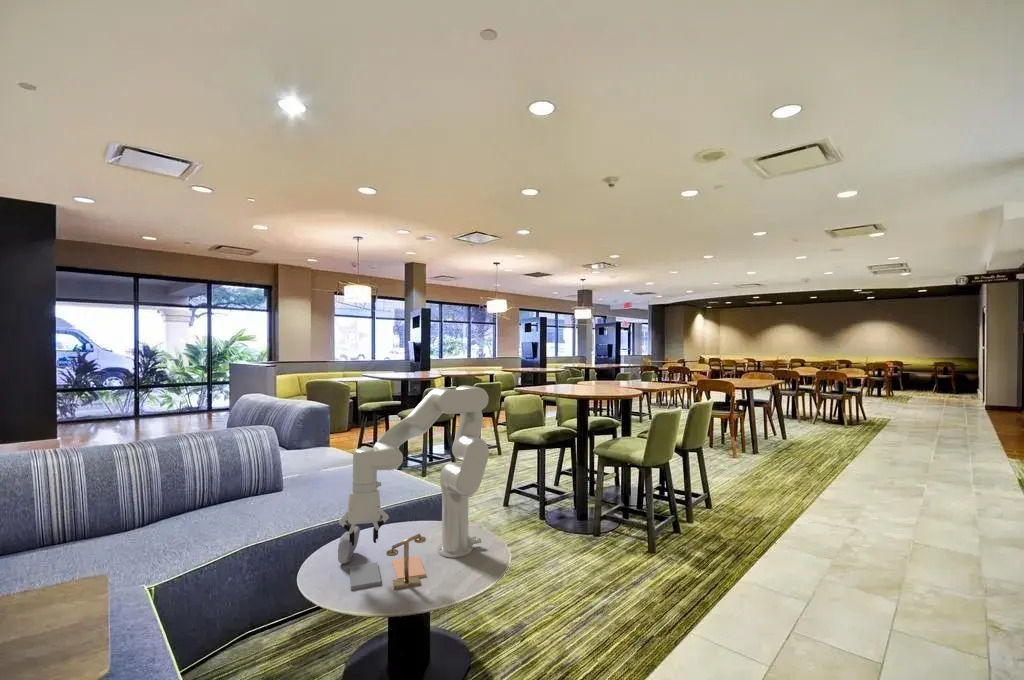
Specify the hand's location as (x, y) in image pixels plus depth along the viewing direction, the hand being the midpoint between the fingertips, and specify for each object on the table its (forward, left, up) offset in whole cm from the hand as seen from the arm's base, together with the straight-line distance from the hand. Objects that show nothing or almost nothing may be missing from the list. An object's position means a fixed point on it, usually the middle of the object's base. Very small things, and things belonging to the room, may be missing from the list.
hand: (363, 542), depth 155 cm
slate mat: (0, 0, -11) cm, 11 cm away
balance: (-12, +9, -11) cm, 19 cm away
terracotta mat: (-14, 0, -11) cm, 18 cm away
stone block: (+4, -16, -12) cm, 20 cm away
